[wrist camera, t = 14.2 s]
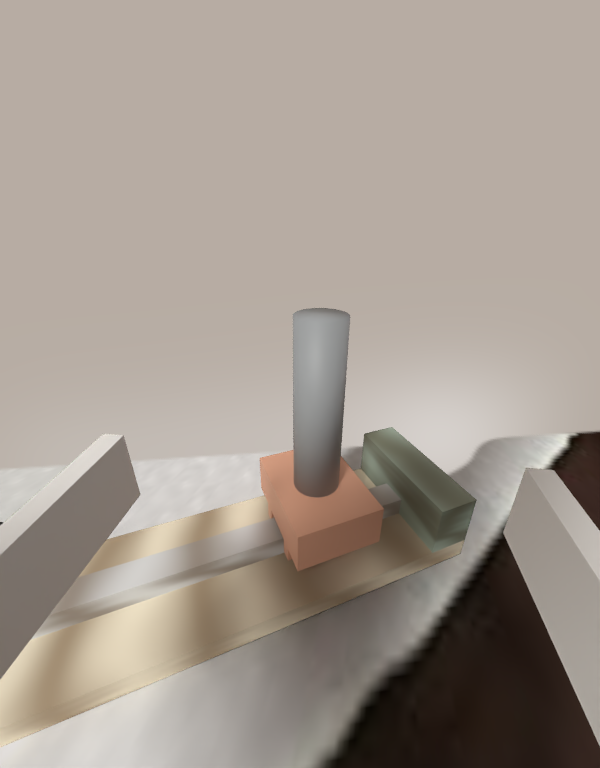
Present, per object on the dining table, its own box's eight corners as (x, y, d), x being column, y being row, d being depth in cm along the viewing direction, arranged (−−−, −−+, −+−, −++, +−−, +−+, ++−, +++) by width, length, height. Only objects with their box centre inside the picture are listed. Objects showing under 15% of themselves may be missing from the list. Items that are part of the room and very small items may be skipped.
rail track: (385, 473, 35) (391, 427, 33) (460, 553, 27) (476, 500, 25) (-75, 607, 23) (-118, 550, 21) (-197, 830, 15) (-293, 777, 12)
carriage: (327, 480, 31) (336, 296, 24) (377, 553, 24) (410, 329, 17) (262, 498, 29) (251, 304, 22) (297, 583, 22) (298, 344, 15)
